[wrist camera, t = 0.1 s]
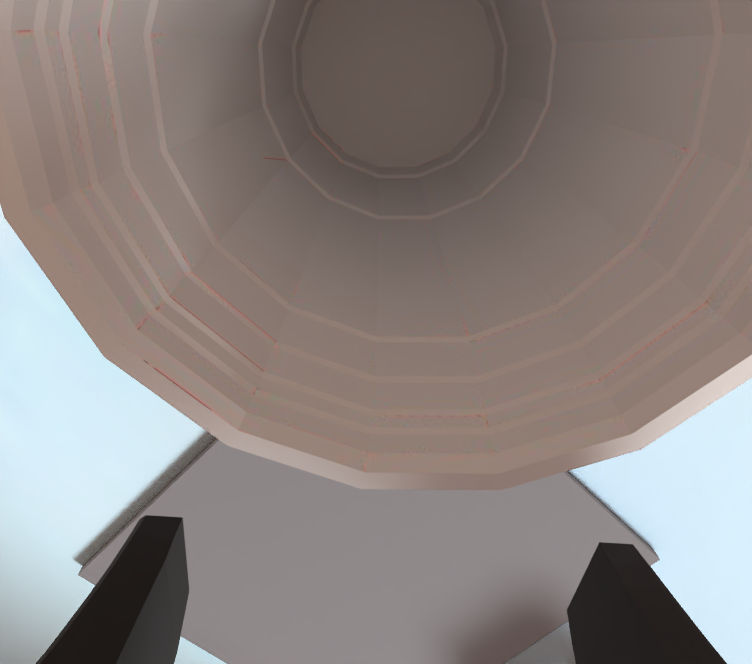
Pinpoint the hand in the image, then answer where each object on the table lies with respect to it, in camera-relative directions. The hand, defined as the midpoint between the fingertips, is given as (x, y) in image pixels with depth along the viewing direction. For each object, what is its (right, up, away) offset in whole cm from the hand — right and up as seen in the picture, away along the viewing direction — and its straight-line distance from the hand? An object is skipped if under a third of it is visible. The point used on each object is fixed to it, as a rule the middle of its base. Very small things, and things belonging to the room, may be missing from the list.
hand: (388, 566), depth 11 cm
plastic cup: (0, +11, +7) cm, 13 cm away
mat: (0, -5, +14) cm, 15 cm away
